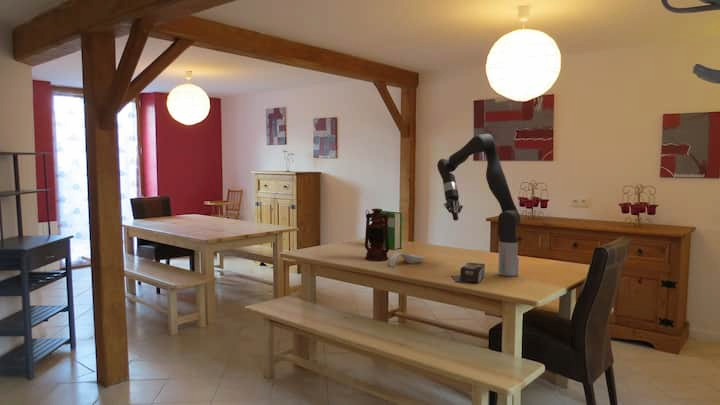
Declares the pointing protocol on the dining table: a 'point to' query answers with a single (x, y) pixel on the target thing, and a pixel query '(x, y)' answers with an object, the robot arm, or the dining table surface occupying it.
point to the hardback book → (394, 230)
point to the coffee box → (472, 272)
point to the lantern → (377, 236)
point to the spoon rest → (407, 257)
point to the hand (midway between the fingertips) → (456, 220)
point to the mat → (458, 278)
